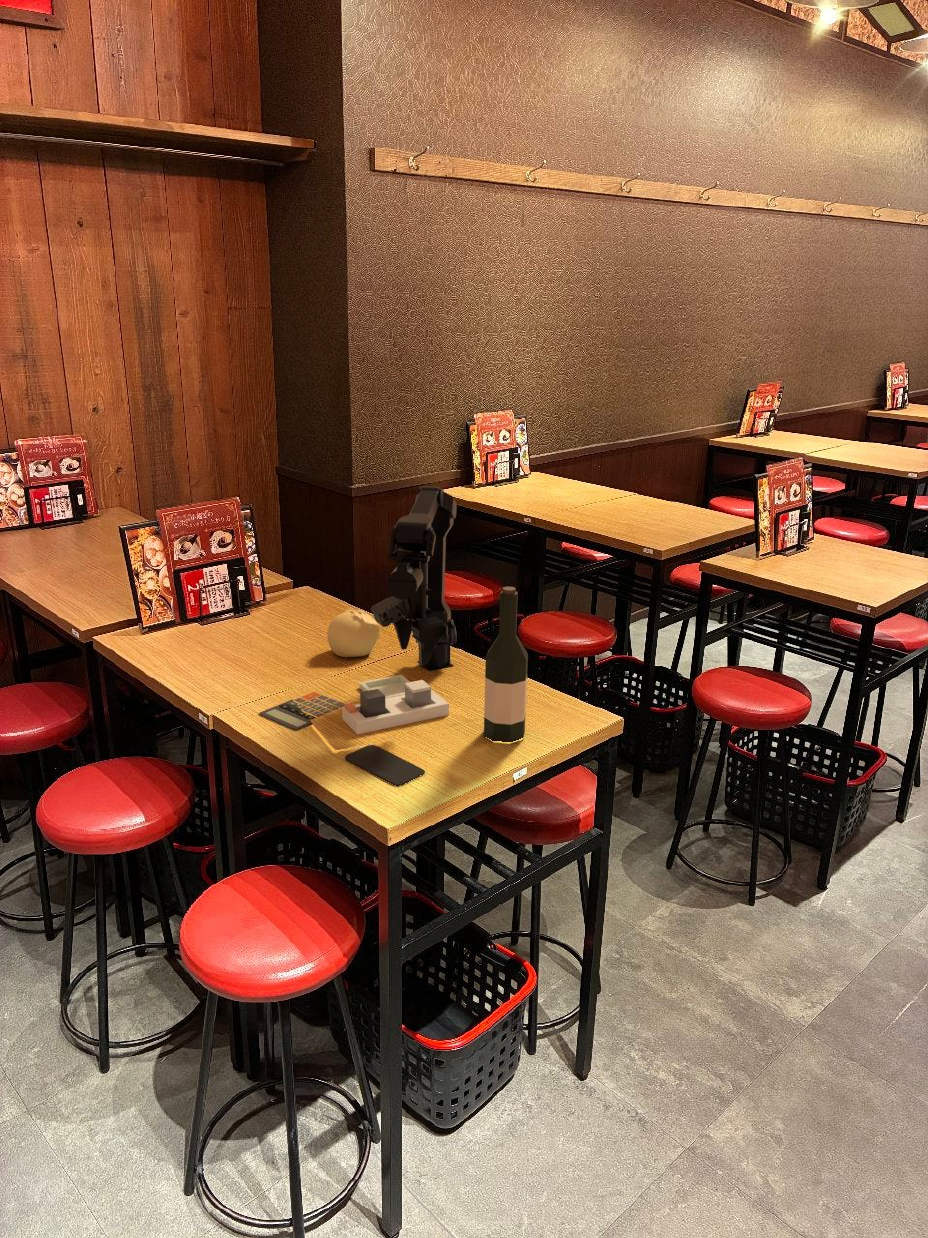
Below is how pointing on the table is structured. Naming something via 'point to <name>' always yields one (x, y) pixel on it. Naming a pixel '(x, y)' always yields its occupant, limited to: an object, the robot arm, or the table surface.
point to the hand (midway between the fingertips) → (413, 656)
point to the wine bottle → (506, 676)
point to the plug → (417, 694)
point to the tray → (386, 685)
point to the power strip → (389, 711)
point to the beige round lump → (353, 633)
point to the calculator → (299, 711)
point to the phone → (384, 765)
